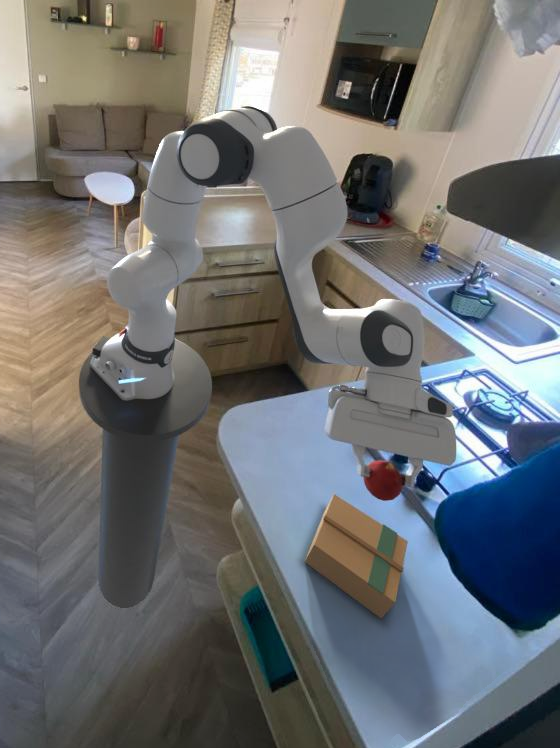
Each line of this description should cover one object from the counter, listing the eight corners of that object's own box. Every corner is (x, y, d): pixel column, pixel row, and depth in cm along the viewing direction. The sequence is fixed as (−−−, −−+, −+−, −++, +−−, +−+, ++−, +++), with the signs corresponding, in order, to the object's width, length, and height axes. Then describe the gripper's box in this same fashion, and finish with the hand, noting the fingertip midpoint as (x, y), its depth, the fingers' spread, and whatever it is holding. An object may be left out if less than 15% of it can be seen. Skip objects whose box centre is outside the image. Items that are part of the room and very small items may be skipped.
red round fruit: (387, 481, 74) (405, 453, 70) (396, 514, 69) (416, 486, 65) (354, 473, 75) (370, 445, 71) (360, 505, 70) (378, 477, 66)
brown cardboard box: (303, 562, 73) (313, 543, 70) (324, 510, 82) (333, 492, 78) (381, 620, 67) (396, 603, 64) (395, 558, 76) (409, 540, 72)
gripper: (336, 382, 71) (326, 471, 67) (463, 409, 69) (460, 502, 65) (325, 381, 77) (315, 462, 73) (442, 406, 75) (438, 490, 71)
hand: (385, 481), depth 69 cm, fingers closed on red round fruit, 5 cm apart
